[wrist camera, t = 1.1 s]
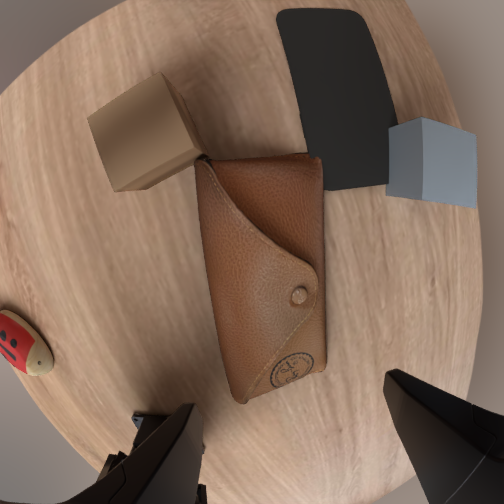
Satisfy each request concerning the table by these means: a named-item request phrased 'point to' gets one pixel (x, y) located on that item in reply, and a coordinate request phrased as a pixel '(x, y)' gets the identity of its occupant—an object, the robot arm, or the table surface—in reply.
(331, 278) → the table surface
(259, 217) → the sunglasses case
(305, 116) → the phone
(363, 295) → the table surface
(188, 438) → the robot arm
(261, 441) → the table surface
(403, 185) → the slate block
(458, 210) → the table surface
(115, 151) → the walnut block
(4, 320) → the ladybug figurine
